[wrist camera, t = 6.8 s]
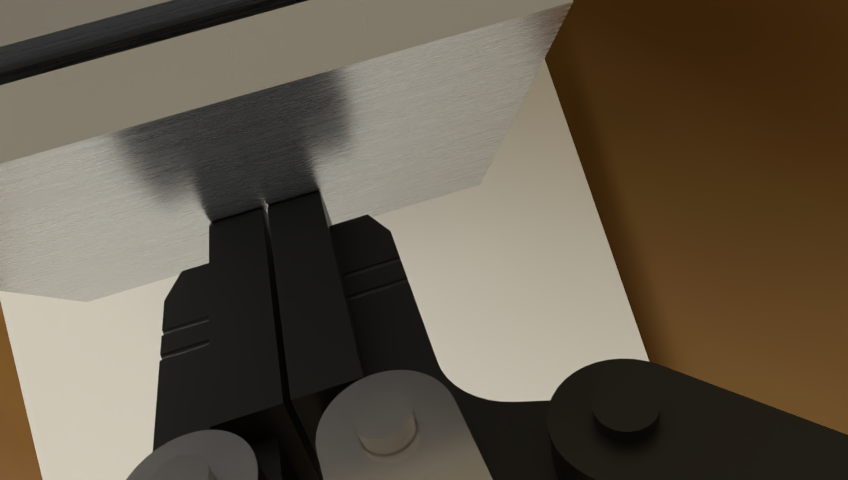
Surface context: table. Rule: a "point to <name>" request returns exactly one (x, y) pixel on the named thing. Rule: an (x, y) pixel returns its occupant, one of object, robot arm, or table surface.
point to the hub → (238, 120)
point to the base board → (429, 280)
